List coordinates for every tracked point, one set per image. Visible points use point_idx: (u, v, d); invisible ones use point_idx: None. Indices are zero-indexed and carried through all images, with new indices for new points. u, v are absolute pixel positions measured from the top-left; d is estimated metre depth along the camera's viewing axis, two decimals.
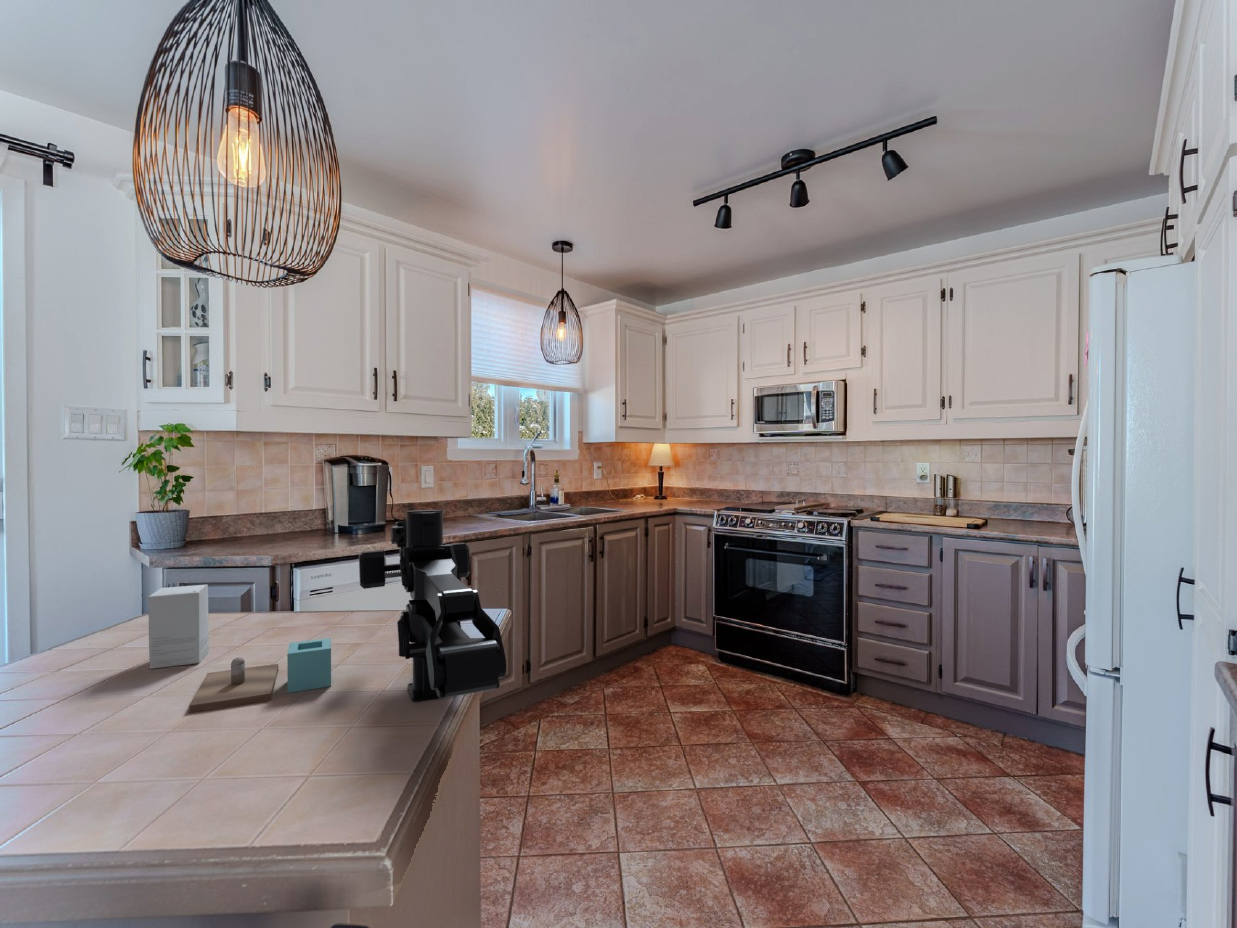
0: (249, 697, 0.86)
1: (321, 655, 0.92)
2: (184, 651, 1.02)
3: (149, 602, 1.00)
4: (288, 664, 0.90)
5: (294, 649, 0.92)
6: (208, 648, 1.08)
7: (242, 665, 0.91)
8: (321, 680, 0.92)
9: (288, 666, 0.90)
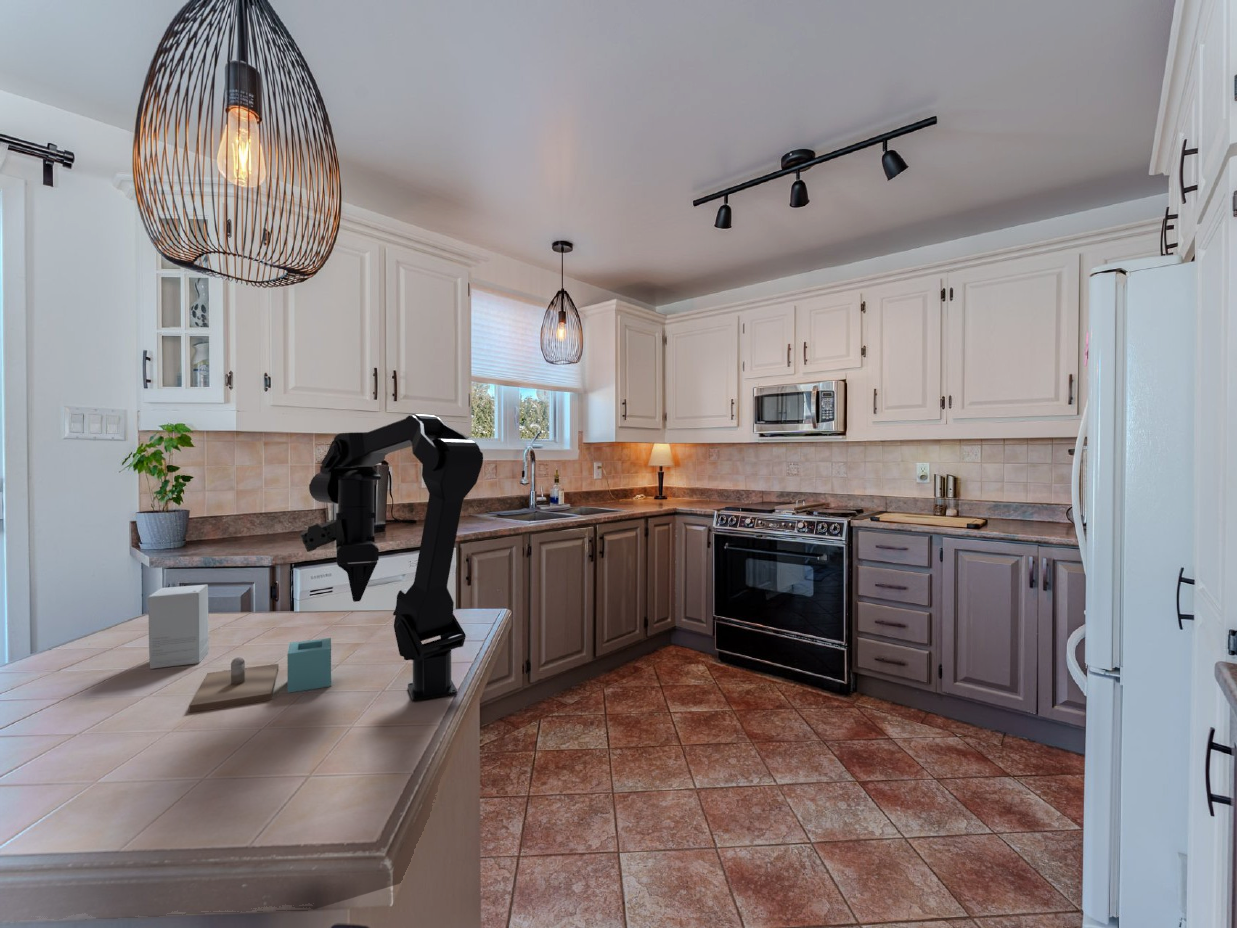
0: (249, 697, 0.86)
1: (321, 655, 0.92)
2: (184, 651, 1.02)
3: (149, 602, 1.00)
4: (288, 664, 0.90)
5: (294, 649, 0.92)
6: (208, 648, 1.08)
7: (242, 665, 0.91)
8: (321, 680, 0.92)
9: (288, 666, 0.90)
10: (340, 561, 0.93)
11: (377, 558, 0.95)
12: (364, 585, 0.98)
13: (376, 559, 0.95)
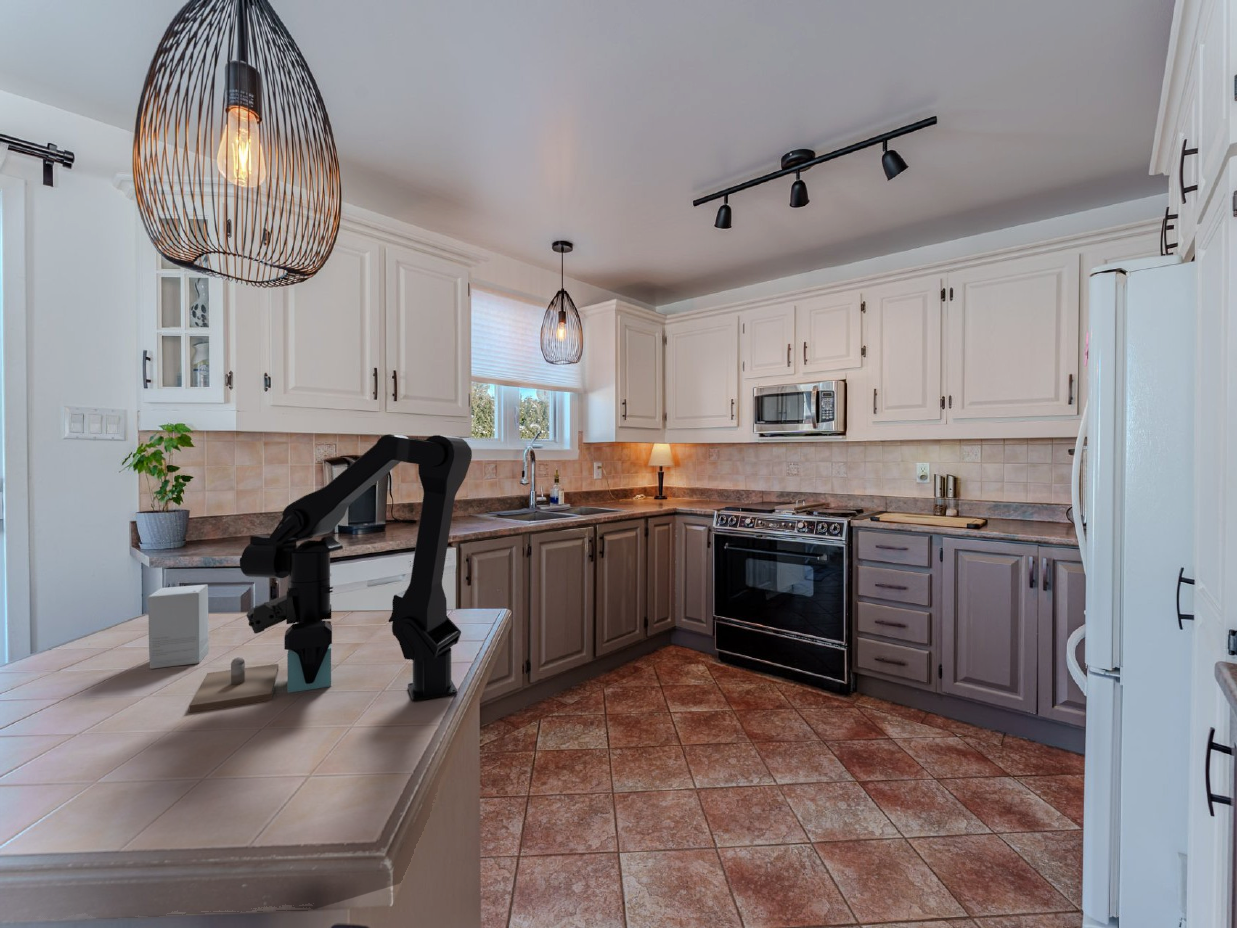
0: (249, 697, 0.86)
1: None
2: (184, 651, 1.02)
3: (149, 602, 1.00)
4: (288, 664, 0.90)
5: None
6: (208, 648, 1.08)
7: (242, 665, 0.91)
8: (321, 680, 0.92)
9: (288, 666, 0.90)
10: (288, 647, 0.85)
11: (330, 641, 0.87)
12: (317, 666, 0.91)
13: (329, 643, 0.87)
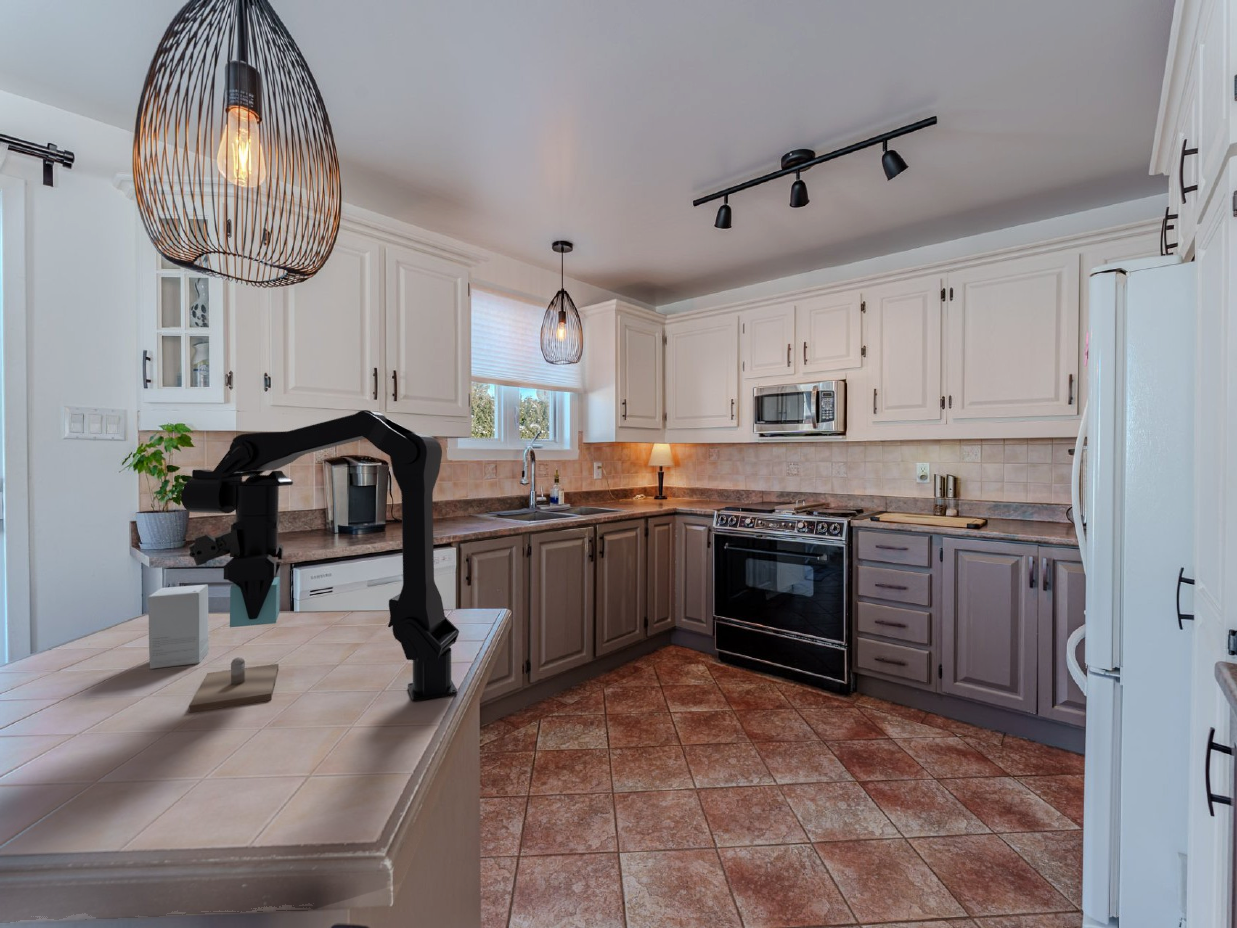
0: (249, 697, 0.86)
1: None
2: (184, 651, 1.02)
3: (149, 602, 1.00)
4: (231, 598, 0.88)
5: None
6: (208, 648, 1.08)
7: (242, 665, 0.91)
8: (265, 616, 0.90)
9: (231, 600, 0.88)
10: (227, 577, 0.83)
11: (272, 574, 0.85)
12: (261, 601, 0.89)
13: (271, 575, 0.85)
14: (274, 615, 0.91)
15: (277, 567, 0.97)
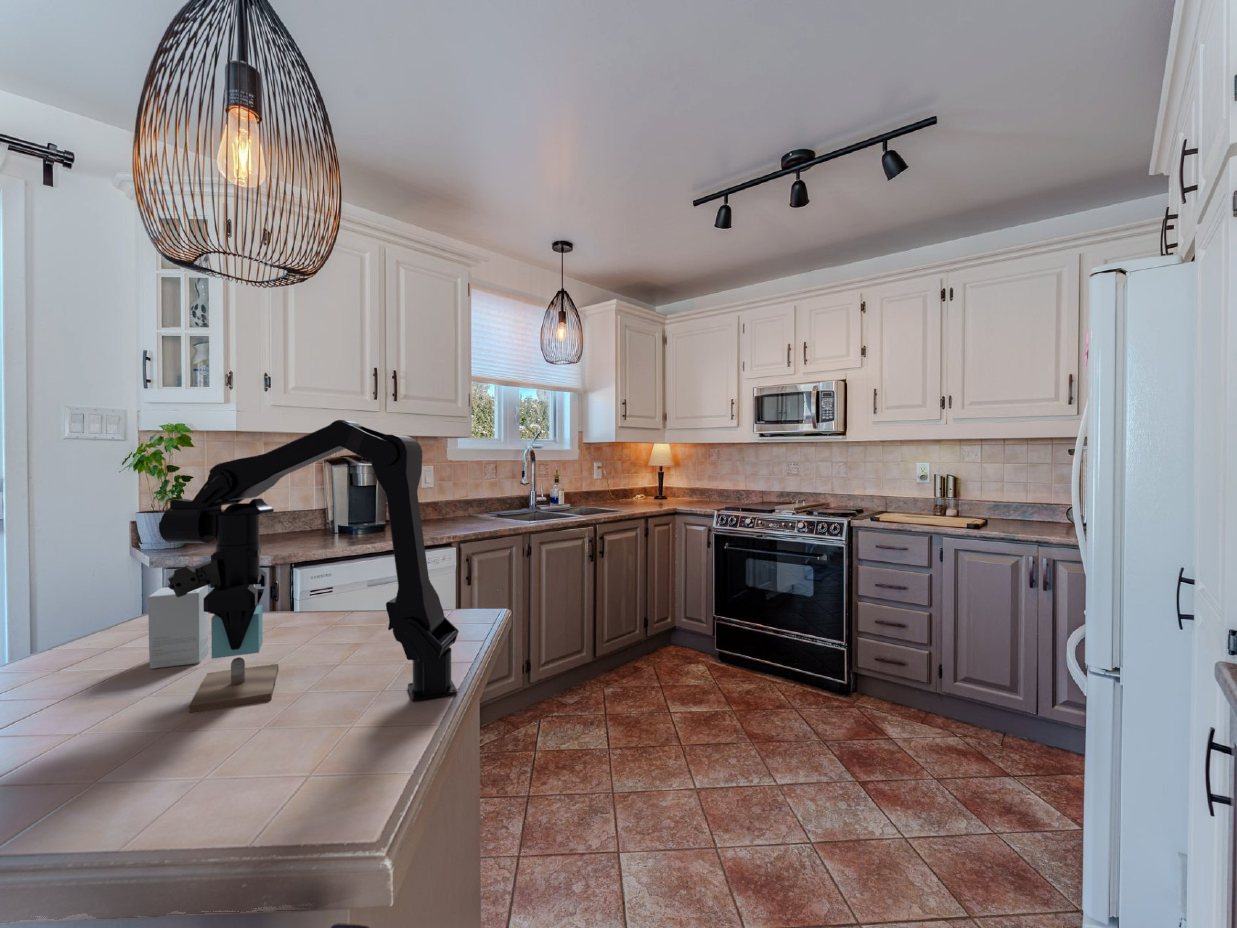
0: (249, 697, 0.86)
1: None
2: (184, 651, 1.02)
3: (149, 602, 1.00)
4: (212, 629, 0.87)
5: None
6: (208, 648, 1.08)
7: (242, 665, 0.91)
8: (248, 646, 0.89)
9: (212, 631, 0.87)
10: (207, 610, 0.82)
11: (253, 604, 0.85)
12: (243, 631, 0.88)
13: (252, 606, 0.84)
14: (257, 644, 0.90)
15: (260, 595, 0.96)
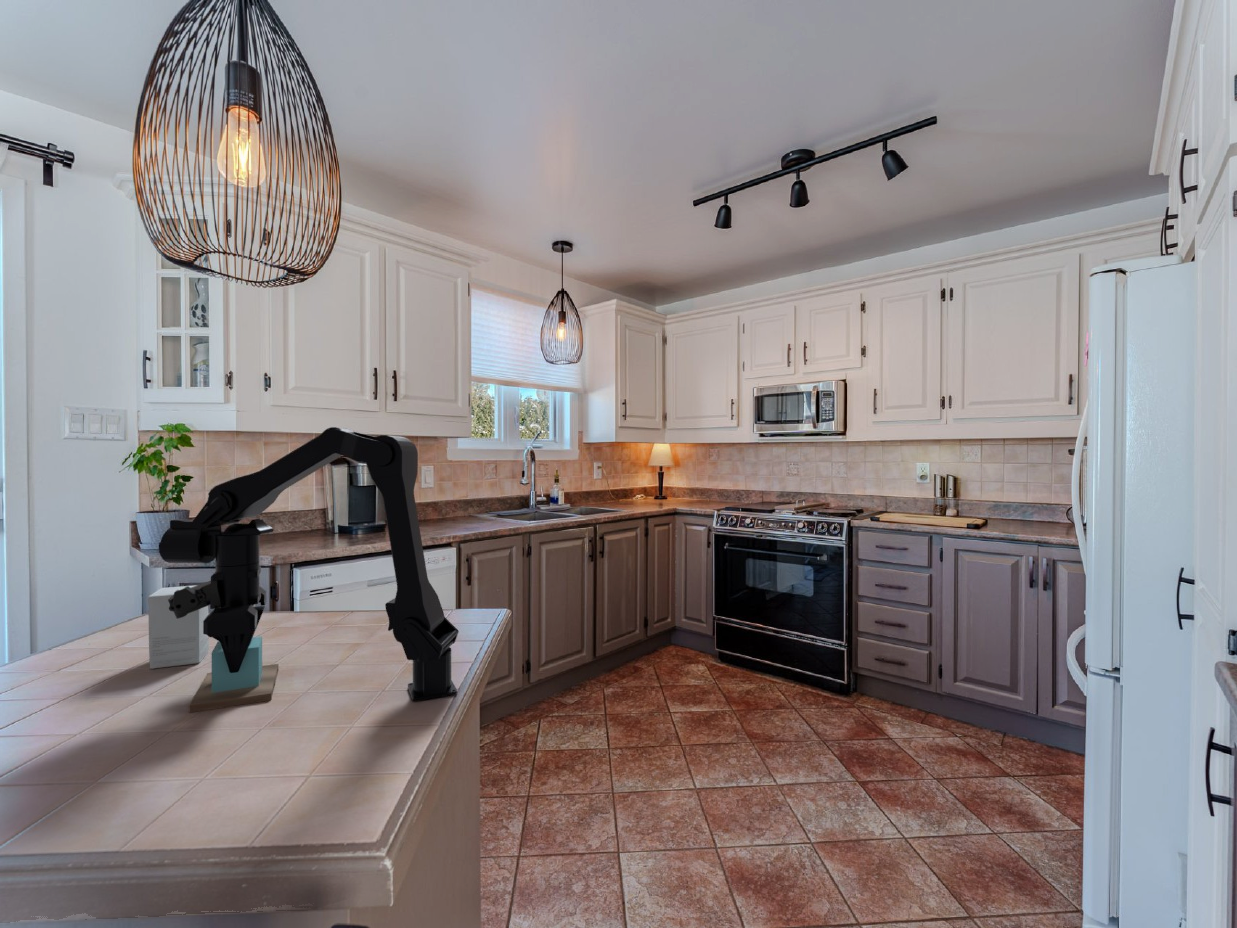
0: (249, 697, 0.86)
1: (248, 654, 0.89)
2: (184, 651, 1.02)
3: (149, 602, 1.00)
4: (212, 663, 0.87)
5: (219, 648, 0.89)
6: (208, 648, 1.08)
7: None
8: (248, 680, 0.89)
9: (212, 665, 0.87)
10: (207, 632, 0.82)
11: (253, 626, 0.85)
12: (242, 654, 0.87)
13: (251, 627, 0.84)
14: (257, 678, 0.90)
15: (260, 612, 0.97)
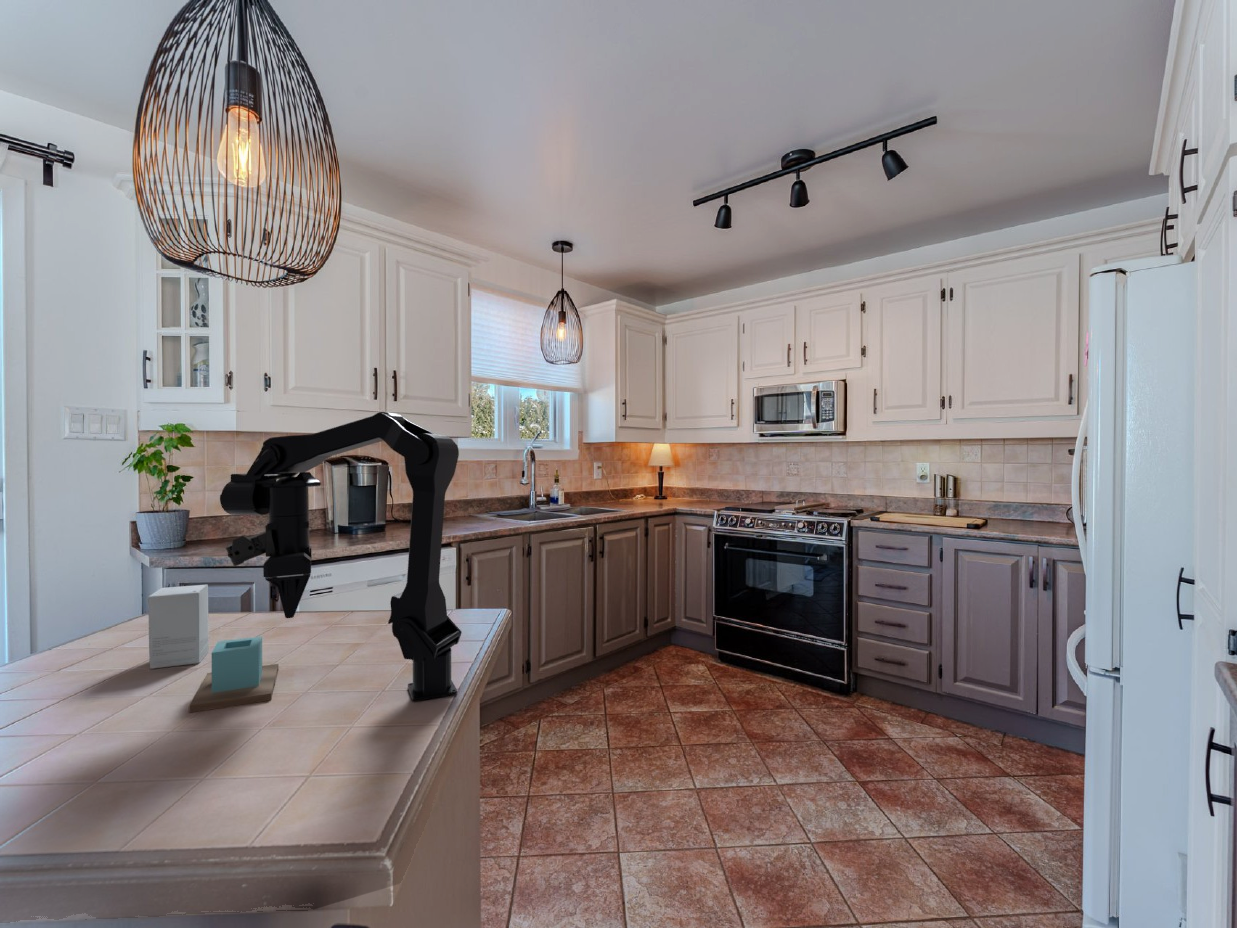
0: (249, 697, 0.86)
1: (248, 654, 0.89)
2: (184, 651, 1.02)
3: (149, 602, 1.00)
4: (212, 663, 0.87)
5: (219, 648, 0.89)
6: (208, 648, 1.08)
7: None
8: (248, 680, 0.89)
9: (212, 665, 0.87)
10: (267, 575, 0.86)
11: (309, 570, 0.89)
12: (297, 600, 0.91)
13: (308, 571, 0.88)
14: (257, 678, 0.90)
15: None
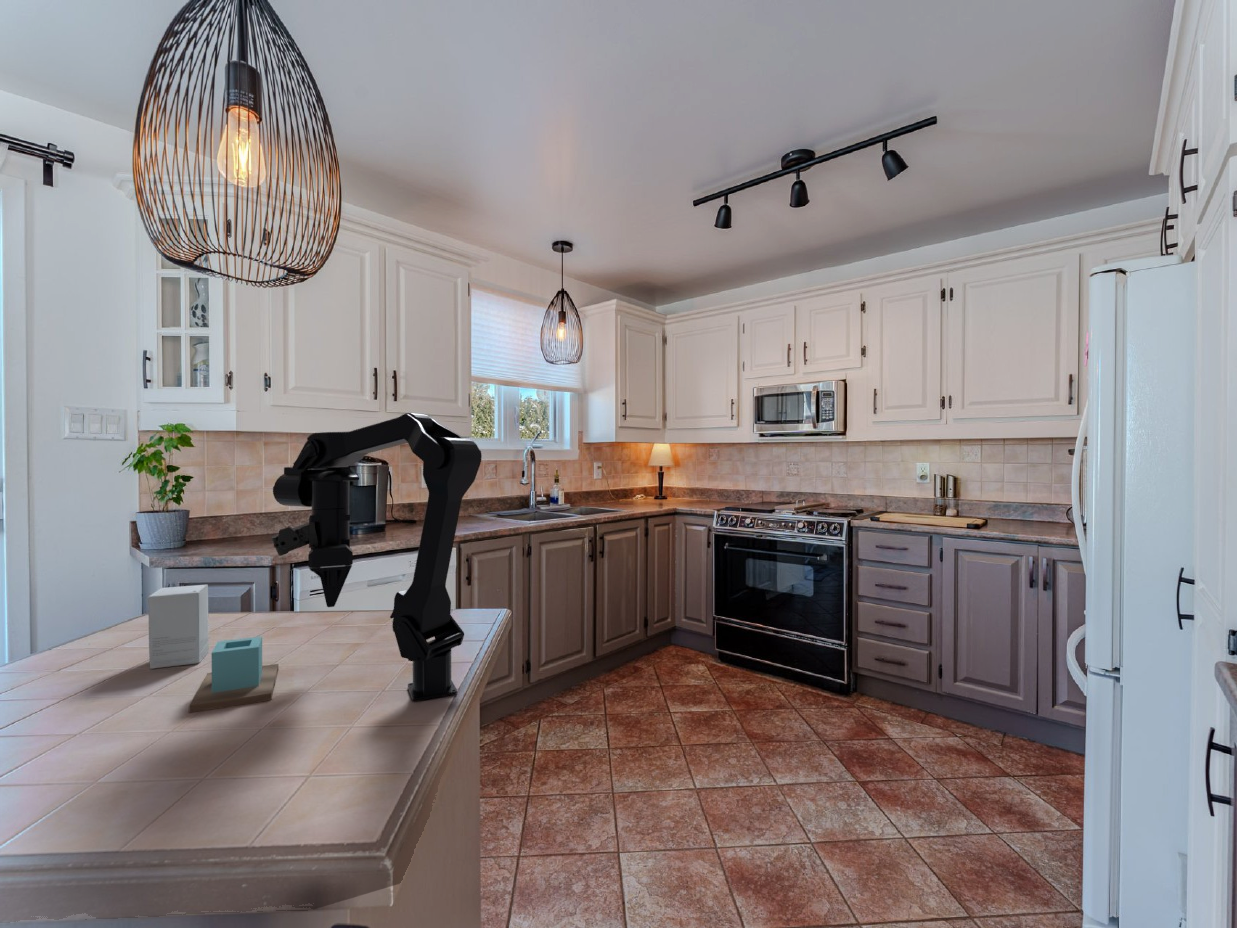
0: (249, 697, 0.86)
1: (248, 654, 0.89)
2: (184, 651, 1.02)
3: (149, 602, 1.00)
4: (212, 663, 0.87)
5: (219, 648, 0.89)
6: (208, 648, 1.08)
7: None
8: (248, 680, 0.89)
9: (212, 665, 0.87)
10: (312, 565, 0.89)
11: (351, 562, 0.92)
12: (338, 590, 0.94)
13: (350, 563, 0.92)
14: (257, 678, 0.90)
15: None
